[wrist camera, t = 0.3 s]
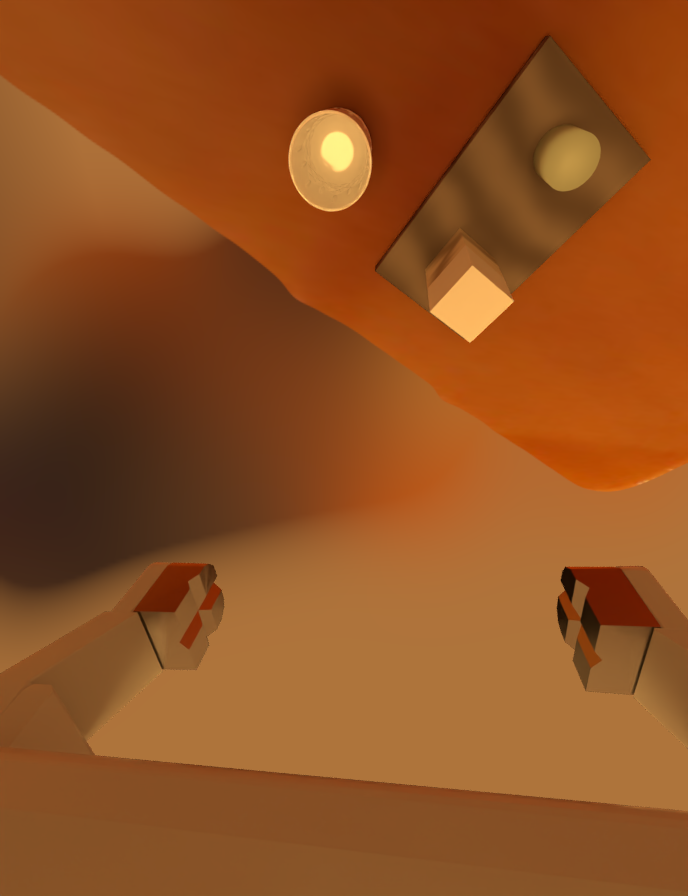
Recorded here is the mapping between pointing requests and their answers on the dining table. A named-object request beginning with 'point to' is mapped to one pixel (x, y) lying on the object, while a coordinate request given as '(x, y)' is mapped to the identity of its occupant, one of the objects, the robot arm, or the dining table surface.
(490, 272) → the tower top block
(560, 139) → the green cylinder
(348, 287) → the dining table surface
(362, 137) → the white cup
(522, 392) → the dining table surface
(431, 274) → the tower base block
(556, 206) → the walnut board
